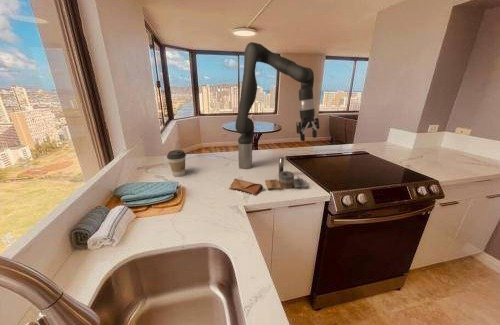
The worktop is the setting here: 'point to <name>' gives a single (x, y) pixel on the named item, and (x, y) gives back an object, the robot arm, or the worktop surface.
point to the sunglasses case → (246, 187)
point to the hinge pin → (281, 164)
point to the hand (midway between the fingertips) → (308, 139)
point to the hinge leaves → (286, 182)
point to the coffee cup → (177, 162)
